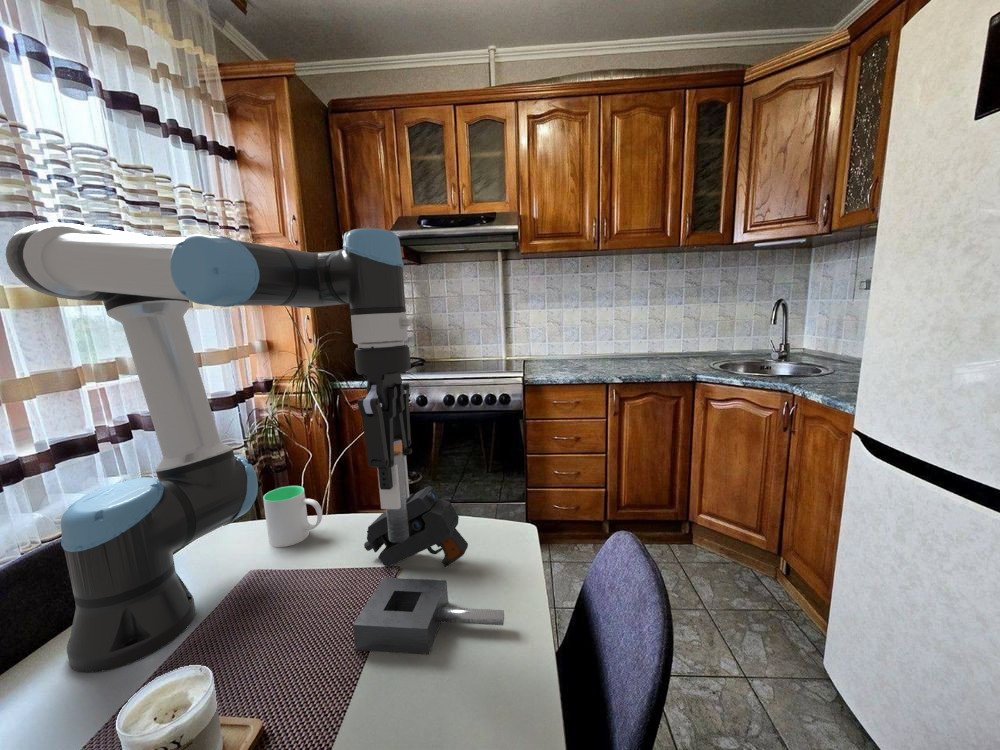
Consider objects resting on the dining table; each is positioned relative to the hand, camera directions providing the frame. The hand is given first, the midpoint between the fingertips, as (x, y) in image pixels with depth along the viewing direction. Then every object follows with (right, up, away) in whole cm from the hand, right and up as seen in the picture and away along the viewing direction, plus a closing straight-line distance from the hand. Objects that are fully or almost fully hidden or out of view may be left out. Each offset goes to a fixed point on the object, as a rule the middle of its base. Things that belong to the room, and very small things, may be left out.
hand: (395, 502), depth 63 cm
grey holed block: (+6, -20, +2) cm, 21 cm away
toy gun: (-1, -18, +20) cm, 27 cm away
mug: (-29, -18, +31) cm, 47 cm away
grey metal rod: (0, -6, +1) cm, 6 cm away
